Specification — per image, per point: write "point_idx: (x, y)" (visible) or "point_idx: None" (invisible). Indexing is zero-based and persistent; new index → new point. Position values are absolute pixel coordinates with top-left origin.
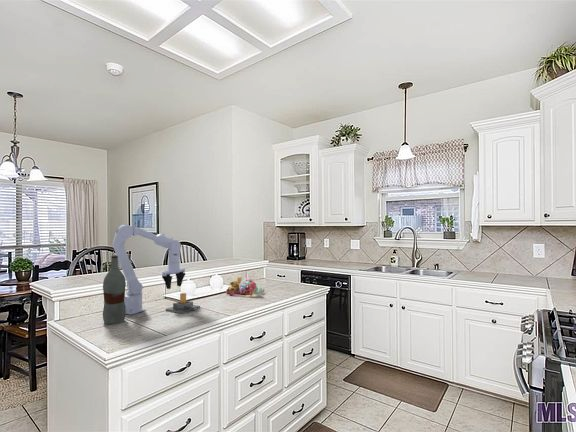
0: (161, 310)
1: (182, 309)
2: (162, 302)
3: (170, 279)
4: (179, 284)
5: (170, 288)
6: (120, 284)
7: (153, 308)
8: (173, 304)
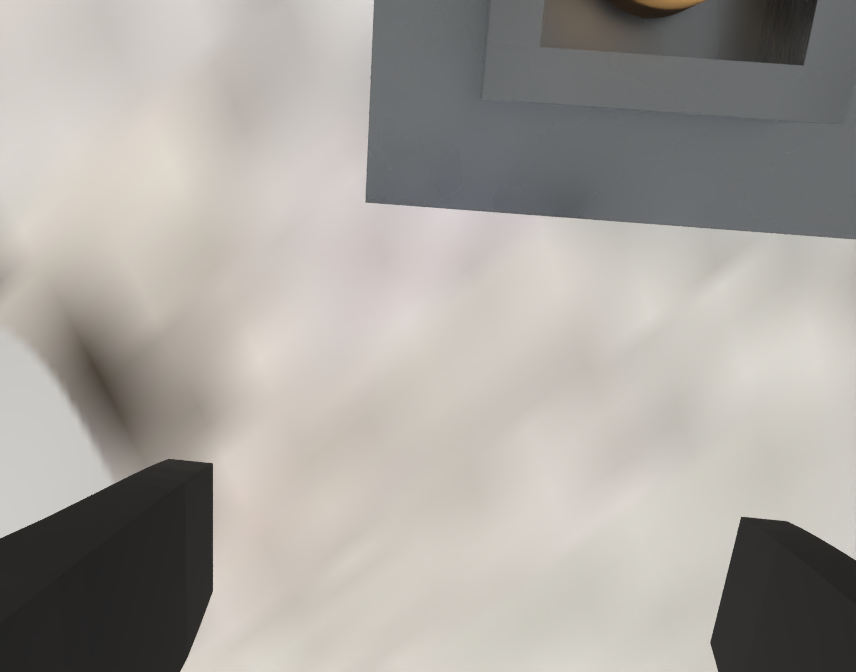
0: (829, 339)
1: None
2: (342, 669)
3: None
4: (186, 532)
5: (746, 521)
6: None
7: None
8: (834, 111)
